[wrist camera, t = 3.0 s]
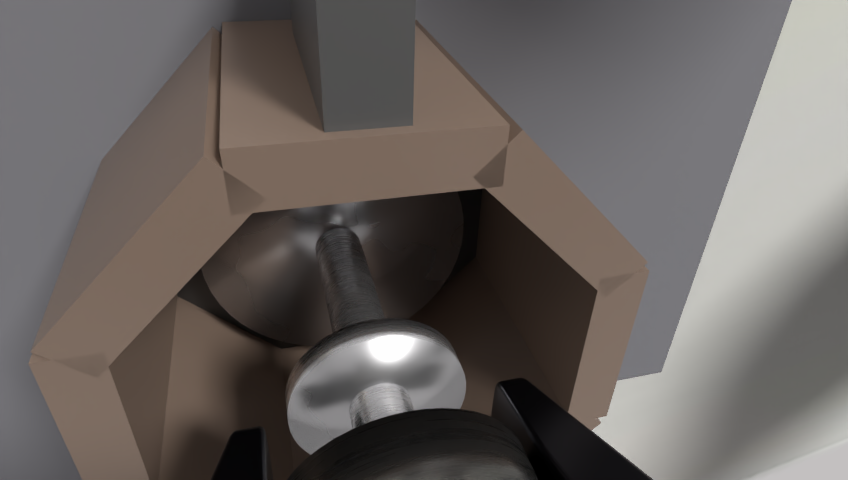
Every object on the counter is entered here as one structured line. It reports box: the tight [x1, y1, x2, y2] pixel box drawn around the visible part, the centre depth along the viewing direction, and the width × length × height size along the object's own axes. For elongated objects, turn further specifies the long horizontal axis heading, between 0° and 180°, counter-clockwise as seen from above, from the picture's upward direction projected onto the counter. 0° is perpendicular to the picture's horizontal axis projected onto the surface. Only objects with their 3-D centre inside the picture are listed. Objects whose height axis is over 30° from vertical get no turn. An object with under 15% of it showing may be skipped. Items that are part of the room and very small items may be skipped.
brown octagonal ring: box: [28, 0, 649, 480], centre depth 10 cm, size 8×11×5 cm
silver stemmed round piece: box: [201, 191, 538, 480], centre depth 9 cm, size 5×5×8 cm
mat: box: [0, 0, 792, 480], centre depth 13 cm, size 20×14×1 cm
